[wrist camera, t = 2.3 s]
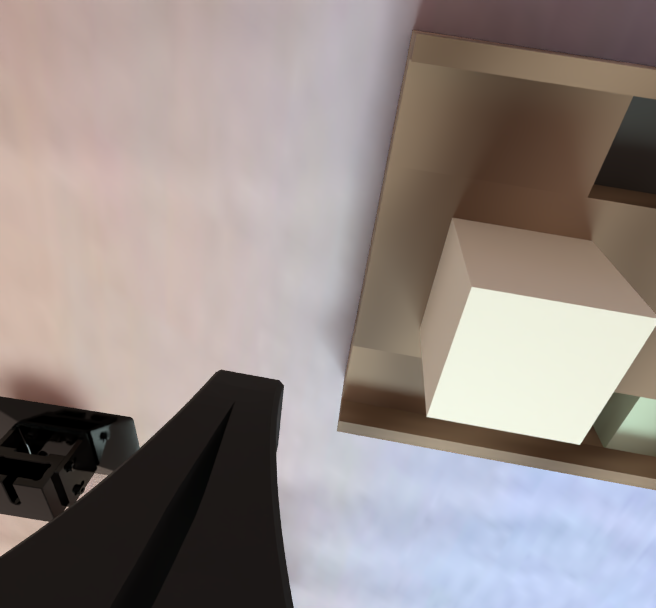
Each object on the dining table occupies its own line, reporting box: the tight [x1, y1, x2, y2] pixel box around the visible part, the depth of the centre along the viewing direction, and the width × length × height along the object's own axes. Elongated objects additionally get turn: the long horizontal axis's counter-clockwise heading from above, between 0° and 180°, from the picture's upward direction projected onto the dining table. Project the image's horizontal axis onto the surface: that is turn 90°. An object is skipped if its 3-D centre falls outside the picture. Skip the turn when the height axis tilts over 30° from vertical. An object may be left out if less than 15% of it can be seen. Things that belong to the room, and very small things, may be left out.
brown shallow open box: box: [337, 30, 656, 490], centre depth 16 cm, size 18×14×3 cm
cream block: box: [420, 218, 656, 445], centre depth 14 cm, size 4×4×4 cm
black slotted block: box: [0, 397, 140, 522], centre depth 25 cm, size 12×7×5 cm, turn 86°
